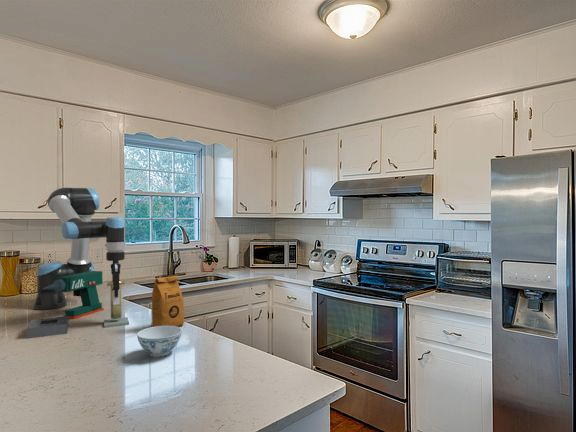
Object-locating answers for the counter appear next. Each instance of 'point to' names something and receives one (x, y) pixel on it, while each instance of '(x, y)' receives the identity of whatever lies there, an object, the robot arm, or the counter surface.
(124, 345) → the counter surface
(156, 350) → the chinaware
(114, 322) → the pad
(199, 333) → the counter surface
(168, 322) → the coffee package
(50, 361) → the counter surface
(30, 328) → the chuck block
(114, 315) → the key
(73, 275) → the power tool
